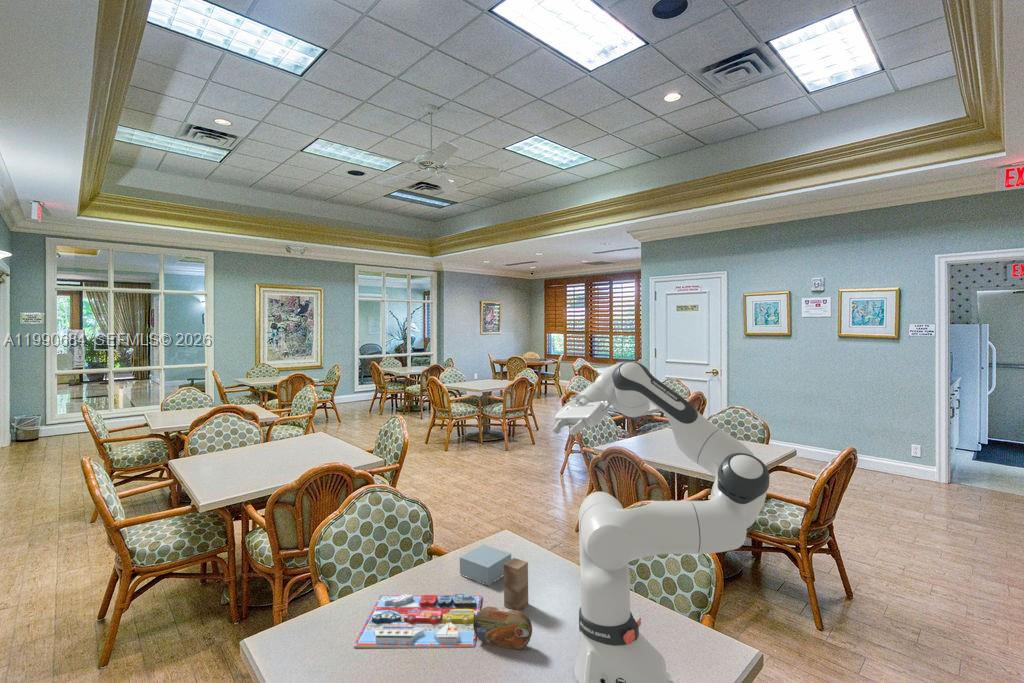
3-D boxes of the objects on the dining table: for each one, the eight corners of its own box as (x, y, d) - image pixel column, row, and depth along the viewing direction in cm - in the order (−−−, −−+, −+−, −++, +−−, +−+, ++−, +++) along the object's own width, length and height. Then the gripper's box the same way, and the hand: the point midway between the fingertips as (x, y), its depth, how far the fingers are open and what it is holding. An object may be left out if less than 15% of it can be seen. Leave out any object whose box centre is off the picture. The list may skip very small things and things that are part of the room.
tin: (472, 642, 120) (472, 608, 120) (477, 634, 123) (477, 602, 123) (530, 652, 115) (530, 618, 115) (533, 644, 118) (533, 611, 118)
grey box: (511, 571, 156) (511, 553, 156) (488, 587, 147) (487, 567, 147) (483, 561, 163) (483, 544, 163) (459, 575, 154) (459, 557, 154)
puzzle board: (353, 650, 118) (352, 640, 118) (379, 600, 141) (379, 591, 141) (475, 649, 117) (475, 639, 117) (482, 599, 140) (482, 590, 140)
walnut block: (528, 603, 137) (527, 562, 137) (518, 611, 133) (518, 569, 132) (514, 598, 139) (513, 557, 139) (504, 606, 135) (503, 564, 135)
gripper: (619, 410, 134) (588, 442, 128) (580, 411, 153) (551, 439, 147) (606, 392, 133) (575, 424, 128) (569, 396, 152) (540, 424, 146)
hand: (562, 432), depth 137 cm, fingers open, 8 cm apart
